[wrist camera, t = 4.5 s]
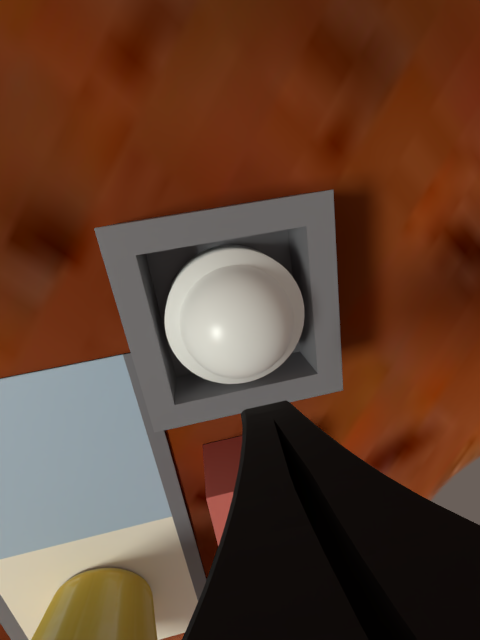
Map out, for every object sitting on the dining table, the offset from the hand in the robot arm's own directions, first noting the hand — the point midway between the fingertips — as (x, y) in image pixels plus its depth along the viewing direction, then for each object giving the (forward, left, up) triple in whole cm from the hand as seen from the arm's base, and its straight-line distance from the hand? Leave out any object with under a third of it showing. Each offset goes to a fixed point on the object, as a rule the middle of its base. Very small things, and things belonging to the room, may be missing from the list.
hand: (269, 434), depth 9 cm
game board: (+12, +12, -9) cm, 20 cm away
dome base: (0, -2, -9) cm, 9 cm away
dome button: (0, -2, -8) cm, 8 cm away
